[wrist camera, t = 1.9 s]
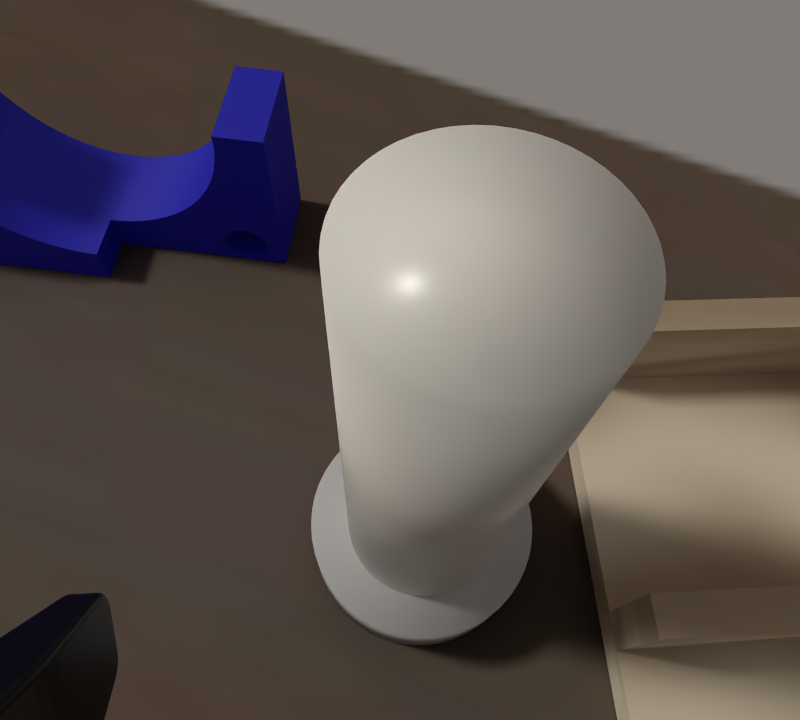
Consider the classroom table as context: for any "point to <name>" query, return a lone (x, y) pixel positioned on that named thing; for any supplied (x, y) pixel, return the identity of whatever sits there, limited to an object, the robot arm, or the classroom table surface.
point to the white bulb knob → (466, 362)
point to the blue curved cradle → (152, 188)
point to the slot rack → (700, 515)
